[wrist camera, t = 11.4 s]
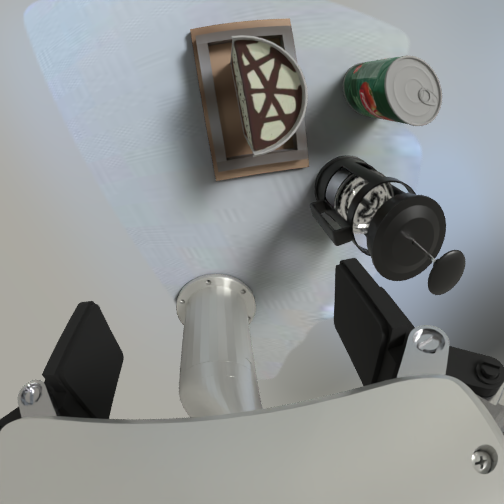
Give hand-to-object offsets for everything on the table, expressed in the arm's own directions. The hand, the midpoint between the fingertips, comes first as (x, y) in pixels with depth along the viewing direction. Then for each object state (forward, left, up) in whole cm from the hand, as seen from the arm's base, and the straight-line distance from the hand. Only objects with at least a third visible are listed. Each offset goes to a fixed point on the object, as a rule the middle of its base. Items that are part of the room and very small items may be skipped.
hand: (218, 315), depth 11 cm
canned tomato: (+8, -22, -29) cm, 37 cm away
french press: (-6, -17, -29) cm, 34 cm away
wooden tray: (+8, -6, -29) cm, 30 cm away
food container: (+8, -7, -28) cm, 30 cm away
